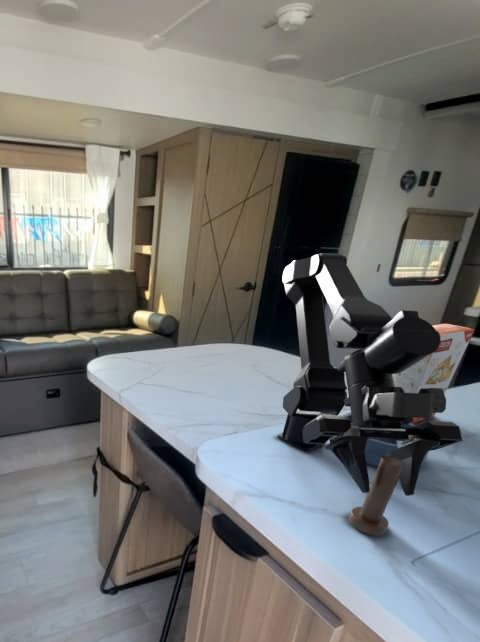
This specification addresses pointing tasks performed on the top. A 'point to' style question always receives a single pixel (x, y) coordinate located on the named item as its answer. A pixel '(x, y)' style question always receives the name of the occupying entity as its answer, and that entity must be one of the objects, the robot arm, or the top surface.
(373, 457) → the bowl
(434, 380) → the cracker box
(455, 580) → the top surface
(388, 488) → the brown flanged rod
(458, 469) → the top surface
